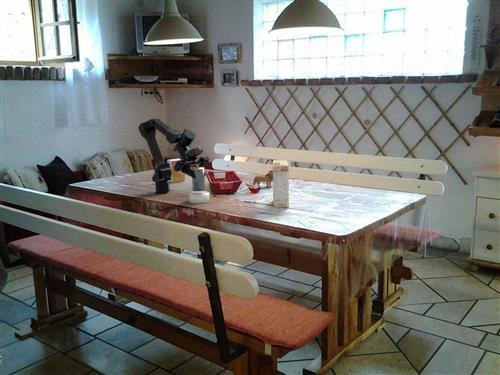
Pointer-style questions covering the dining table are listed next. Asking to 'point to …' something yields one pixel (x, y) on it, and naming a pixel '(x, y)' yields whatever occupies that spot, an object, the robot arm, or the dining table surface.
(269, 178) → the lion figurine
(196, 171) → the grey tin
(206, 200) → the ceramic trivet
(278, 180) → the coffeecake box
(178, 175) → the small box
